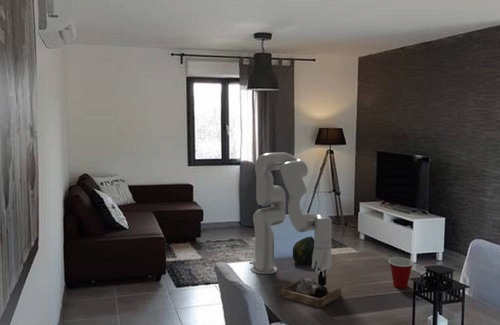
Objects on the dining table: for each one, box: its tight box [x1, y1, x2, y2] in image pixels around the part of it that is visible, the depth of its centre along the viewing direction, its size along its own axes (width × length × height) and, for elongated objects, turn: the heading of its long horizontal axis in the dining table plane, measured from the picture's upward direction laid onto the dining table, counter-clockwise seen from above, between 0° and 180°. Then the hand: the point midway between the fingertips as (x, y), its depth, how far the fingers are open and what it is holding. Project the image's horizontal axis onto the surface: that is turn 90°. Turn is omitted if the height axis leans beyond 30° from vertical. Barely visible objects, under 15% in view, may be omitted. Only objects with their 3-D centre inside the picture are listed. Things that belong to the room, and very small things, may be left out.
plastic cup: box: [388, 256, 415, 289], centre depth 209 cm, size 11×11×12 cm
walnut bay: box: [278, 279, 342, 308], centre depth 198 cm, size 20×17×3 cm
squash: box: [292, 236, 314, 265], centre depth 246 cm, size 14×15×15 cm
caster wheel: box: [295, 277, 328, 297], centre depth 200 cm, size 7×11×10 cm
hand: (322, 284), depth 206 cm, fingers closed
